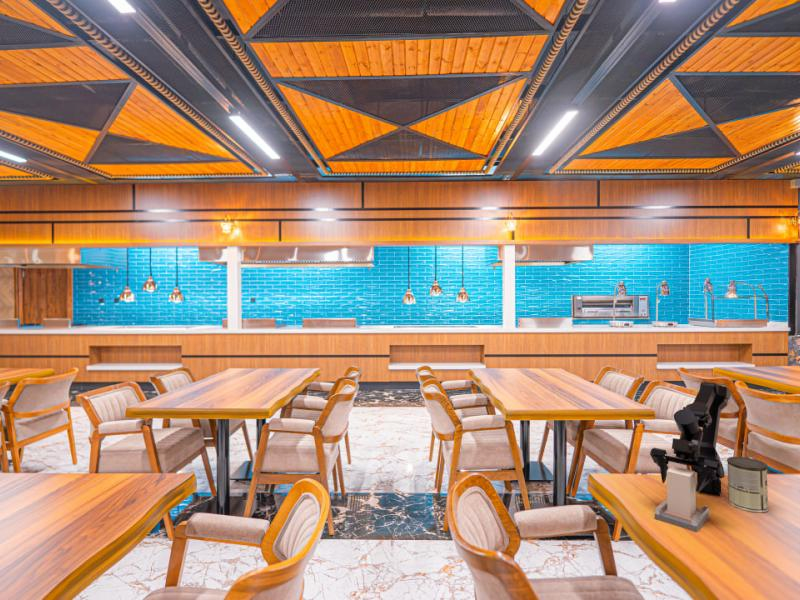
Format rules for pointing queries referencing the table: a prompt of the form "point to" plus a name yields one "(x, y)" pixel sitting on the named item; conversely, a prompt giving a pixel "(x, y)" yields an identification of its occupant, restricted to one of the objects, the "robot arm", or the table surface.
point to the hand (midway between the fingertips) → (679, 486)
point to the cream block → (681, 492)
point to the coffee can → (747, 484)
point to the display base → (681, 521)
